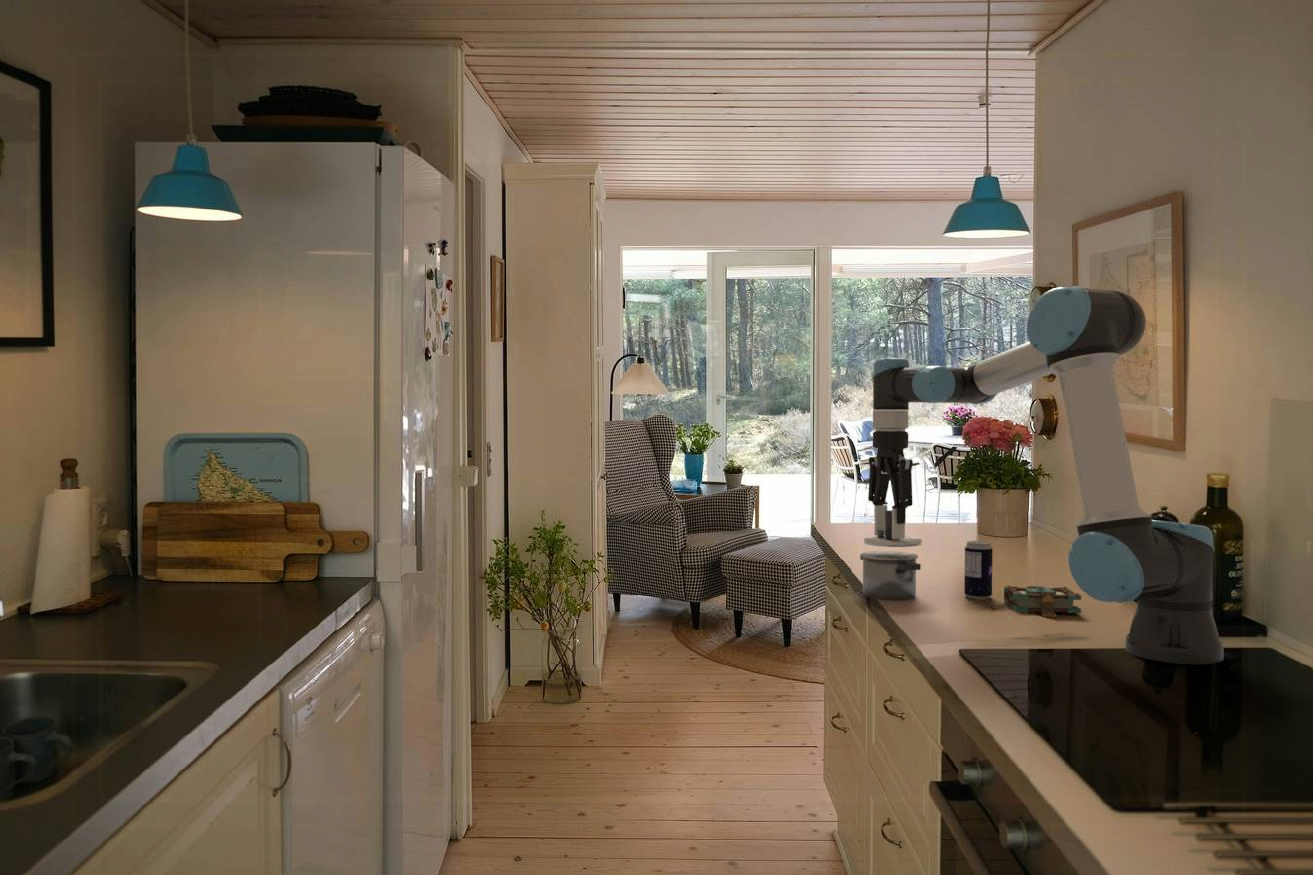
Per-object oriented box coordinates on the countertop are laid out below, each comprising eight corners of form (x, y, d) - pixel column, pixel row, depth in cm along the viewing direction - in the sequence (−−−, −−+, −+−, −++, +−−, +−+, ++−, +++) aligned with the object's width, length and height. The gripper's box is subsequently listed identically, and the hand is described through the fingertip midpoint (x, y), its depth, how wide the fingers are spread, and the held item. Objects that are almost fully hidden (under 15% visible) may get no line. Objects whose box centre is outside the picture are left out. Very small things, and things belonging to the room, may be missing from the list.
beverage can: (993, 600, 216) (994, 544, 215) (965, 599, 217) (966, 543, 217) (990, 596, 221) (990, 541, 221) (963, 595, 222) (963, 540, 222)
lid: (933, 544, 216) (933, 511, 216) (888, 548, 211) (888, 514, 211) (896, 539, 227) (896, 507, 227) (853, 542, 222) (853, 509, 222)
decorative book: (978, 603, 215) (979, 579, 215) (1064, 605, 214) (1065, 581, 213) (994, 615, 202) (994, 590, 202) (1086, 617, 200) (1086, 592, 200)
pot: (891, 588, 231) (891, 548, 231) (936, 601, 215) (936, 558, 215) (844, 591, 227) (844, 550, 227) (887, 604, 211) (887, 561, 211)
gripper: (931, 431, 212) (930, 541, 213) (881, 429, 230) (880, 531, 231) (900, 431, 210) (899, 542, 210) (852, 429, 228) (851, 532, 229)
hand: (889, 536), depth 221 cm, fingers closed on lid, 6 cm apart
